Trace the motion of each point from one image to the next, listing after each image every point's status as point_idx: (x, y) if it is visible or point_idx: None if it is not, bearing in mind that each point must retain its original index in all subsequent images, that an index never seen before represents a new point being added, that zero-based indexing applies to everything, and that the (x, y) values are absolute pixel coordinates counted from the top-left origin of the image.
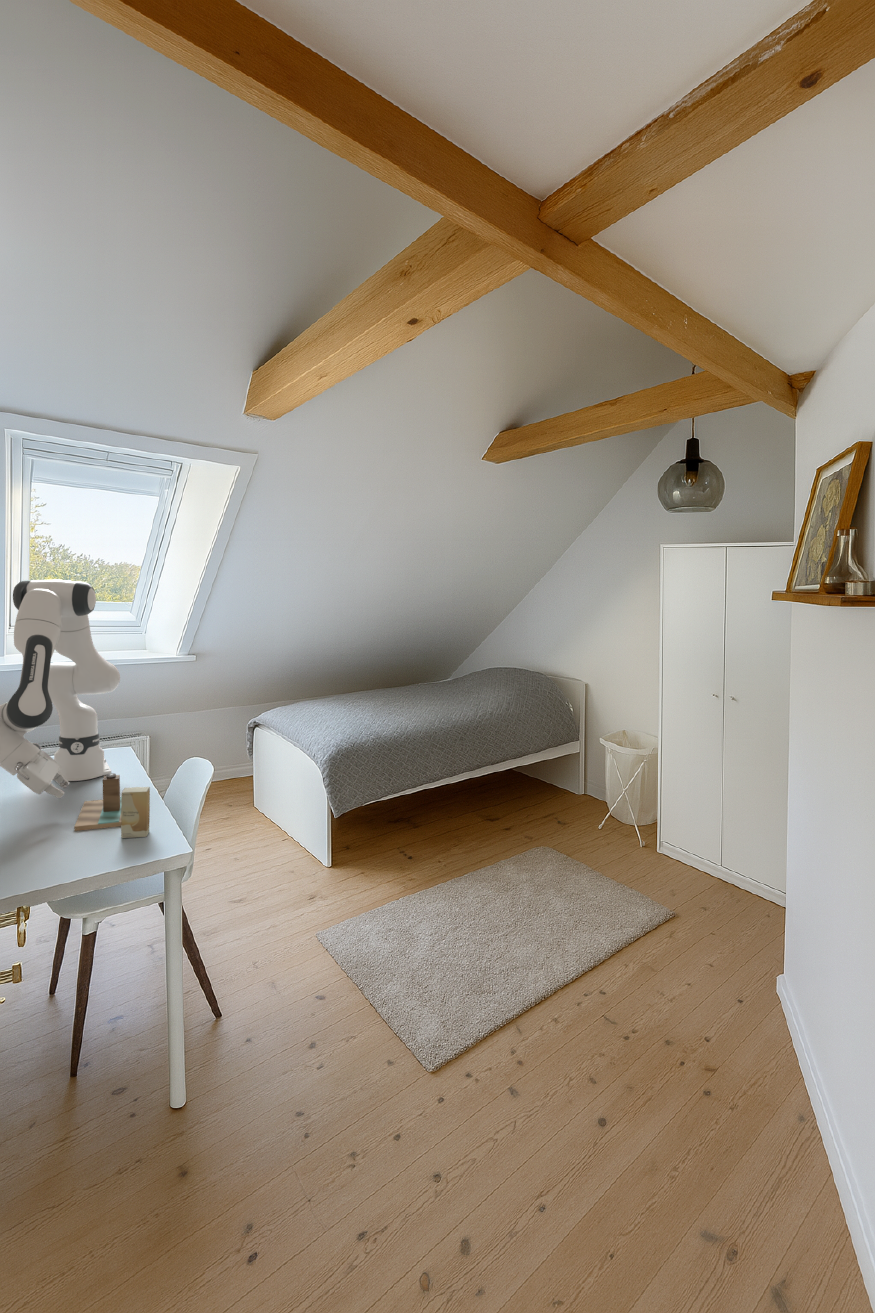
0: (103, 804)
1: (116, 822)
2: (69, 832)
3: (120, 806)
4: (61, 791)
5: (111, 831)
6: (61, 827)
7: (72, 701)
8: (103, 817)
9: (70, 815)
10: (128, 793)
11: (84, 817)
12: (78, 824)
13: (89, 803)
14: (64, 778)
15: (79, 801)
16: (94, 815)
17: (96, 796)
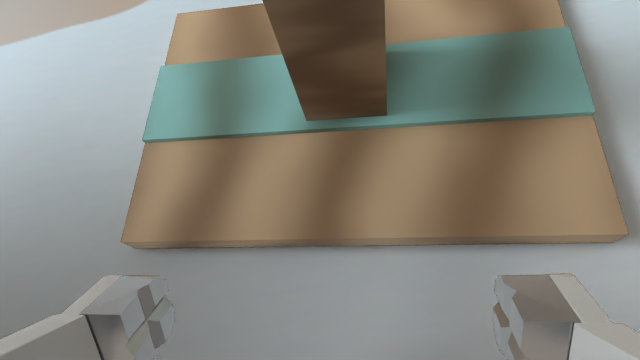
0: (385, 86)
1: (569, 40)
2: (631, 268)
3: None
4: (577, 294)
5: (634, 67)
6: None
7: None
8: (491, 100)
9: (288, 304)
10: None
11: (443, 200)
12: (582, 215)
13: (178, 210)
14: (51, 319)
15: (49, 285)
16: (419, 154)
17: (17, 210)
